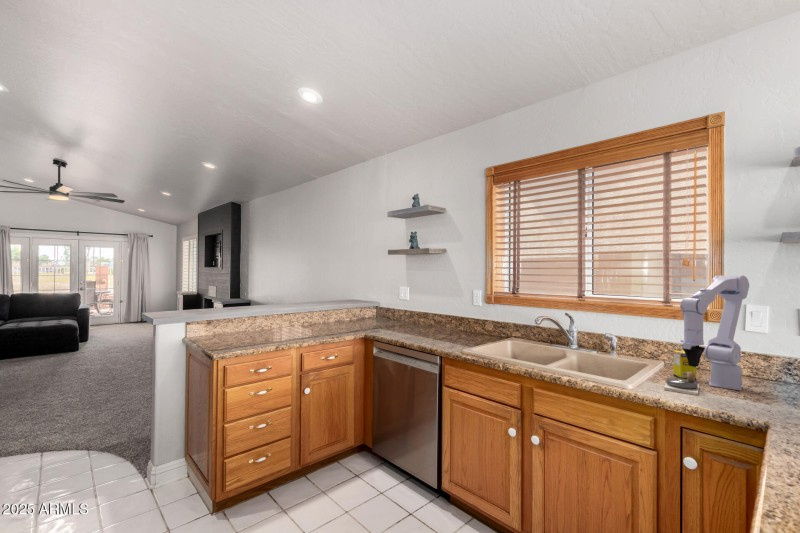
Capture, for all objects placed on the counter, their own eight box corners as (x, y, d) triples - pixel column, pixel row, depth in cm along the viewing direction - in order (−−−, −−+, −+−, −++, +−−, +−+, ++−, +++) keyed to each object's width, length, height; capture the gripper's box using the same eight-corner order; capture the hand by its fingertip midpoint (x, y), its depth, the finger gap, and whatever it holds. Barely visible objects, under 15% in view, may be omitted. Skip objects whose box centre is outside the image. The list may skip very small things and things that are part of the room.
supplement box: (696, 380, 155) (696, 353, 155) (680, 379, 156) (680, 353, 156) (688, 376, 161) (688, 350, 161) (673, 375, 162) (673, 350, 162)
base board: (698, 387, 146) (698, 384, 146) (697, 395, 136) (697, 392, 136) (667, 382, 152) (667, 379, 152) (664, 389, 142) (664, 386, 142)
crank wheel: (680, 389, 139) (680, 376, 139) (660, 381, 148) (660, 369, 148) (704, 388, 140) (704, 376, 140) (683, 381, 149) (683, 369, 149)
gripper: (688, 327, 149) (688, 361, 149) (673, 330, 140) (673, 366, 140) (710, 329, 143) (710, 365, 143) (696, 332, 135) (696, 370, 134)
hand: (693, 366), depth 141 cm, fingers closed
